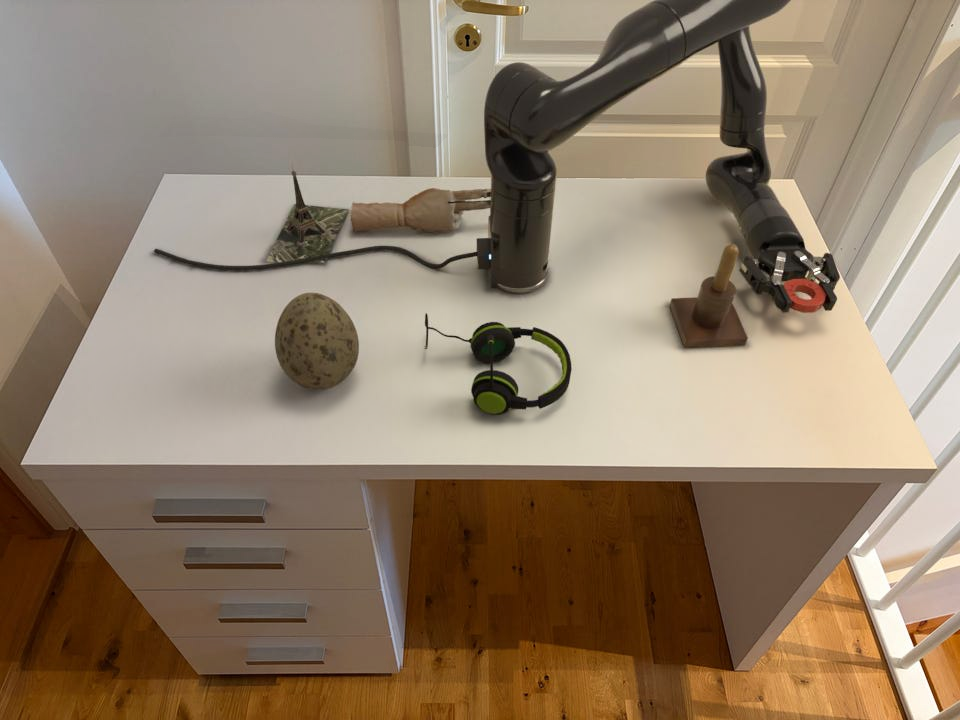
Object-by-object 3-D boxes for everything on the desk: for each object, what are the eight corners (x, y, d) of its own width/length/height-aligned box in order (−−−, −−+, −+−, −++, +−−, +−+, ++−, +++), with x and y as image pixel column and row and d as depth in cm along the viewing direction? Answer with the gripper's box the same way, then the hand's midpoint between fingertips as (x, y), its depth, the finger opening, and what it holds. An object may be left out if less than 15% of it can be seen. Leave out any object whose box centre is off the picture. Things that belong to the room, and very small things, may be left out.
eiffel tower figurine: (326, 266, 117) (313, 197, 107) (265, 261, 117) (246, 191, 108) (349, 211, 127) (339, 142, 117) (293, 206, 127) (277, 138, 118)
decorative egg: (335, 418, 96) (317, 340, 85) (269, 390, 99) (243, 310, 88) (378, 365, 102) (367, 285, 91) (315, 340, 106) (297, 260, 95)
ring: (788, 313, 104) (792, 306, 103) (775, 286, 108) (778, 279, 107) (828, 312, 104) (832, 304, 103) (813, 284, 108) (816, 277, 107)
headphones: (422, 286, 99) (568, 285, 100) (426, 335, 106) (562, 334, 107) (418, 374, 89) (581, 372, 89) (422, 422, 96) (573, 420, 96)
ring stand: (684, 348, 105) (709, 268, 94) (669, 305, 111) (691, 226, 100) (745, 345, 106) (777, 266, 95) (726, 303, 112) (754, 223, 101)
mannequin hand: (363, 224, 128) (505, 221, 125) (353, 241, 122) (502, 238, 119) (357, 185, 124) (503, 180, 121) (346, 200, 118) (500, 196, 115)
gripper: (731, 216, 112) (768, 290, 100) (822, 212, 112) (869, 285, 101) (719, 254, 117) (752, 328, 106) (806, 250, 118) (848, 323, 107)
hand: (809, 307), depth 104 cm, fingers closed on ring, 5 cm apart
